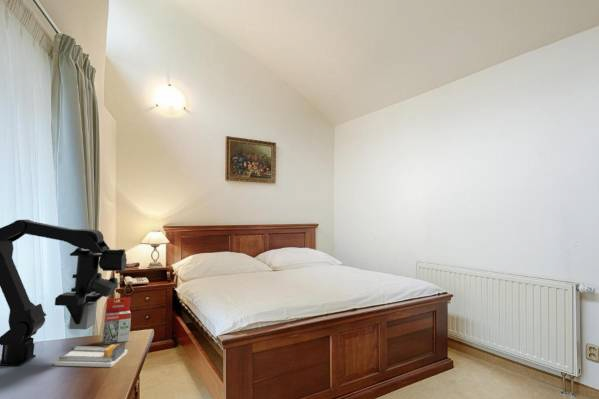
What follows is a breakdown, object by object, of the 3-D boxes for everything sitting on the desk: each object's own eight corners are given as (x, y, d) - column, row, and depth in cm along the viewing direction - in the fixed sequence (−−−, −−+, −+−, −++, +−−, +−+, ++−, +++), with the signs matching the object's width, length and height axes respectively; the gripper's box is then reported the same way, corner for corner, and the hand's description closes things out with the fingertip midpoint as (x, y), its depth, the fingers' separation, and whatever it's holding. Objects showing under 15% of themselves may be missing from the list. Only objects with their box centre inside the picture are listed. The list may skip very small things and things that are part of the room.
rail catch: (103, 358, 97) (104, 350, 97) (111, 352, 101) (111, 344, 101) (107, 358, 97) (108, 350, 97) (114, 352, 101) (115, 344, 101)
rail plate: (54, 365, 93) (55, 351, 93) (76, 351, 103) (77, 338, 103) (111, 367, 94) (112, 353, 94) (127, 352, 104) (128, 340, 104)
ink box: (129, 341, 113) (132, 299, 114) (102, 345, 109) (106, 301, 110) (128, 337, 116) (131, 296, 117) (102, 341, 112) (106, 298, 113)
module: (69, 328, 96) (71, 305, 97) (78, 323, 101) (80, 301, 101) (86, 329, 97) (88, 305, 97) (94, 324, 101) (96, 302, 102)
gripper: (97, 277, 91) (91, 333, 90) (128, 267, 110) (124, 313, 109) (56, 275, 90) (50, 332, 89) (94, 265, 109) (89, 312, 108)
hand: (82, 321), depth 99 cm, fingers closed on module, 4 cm apart
